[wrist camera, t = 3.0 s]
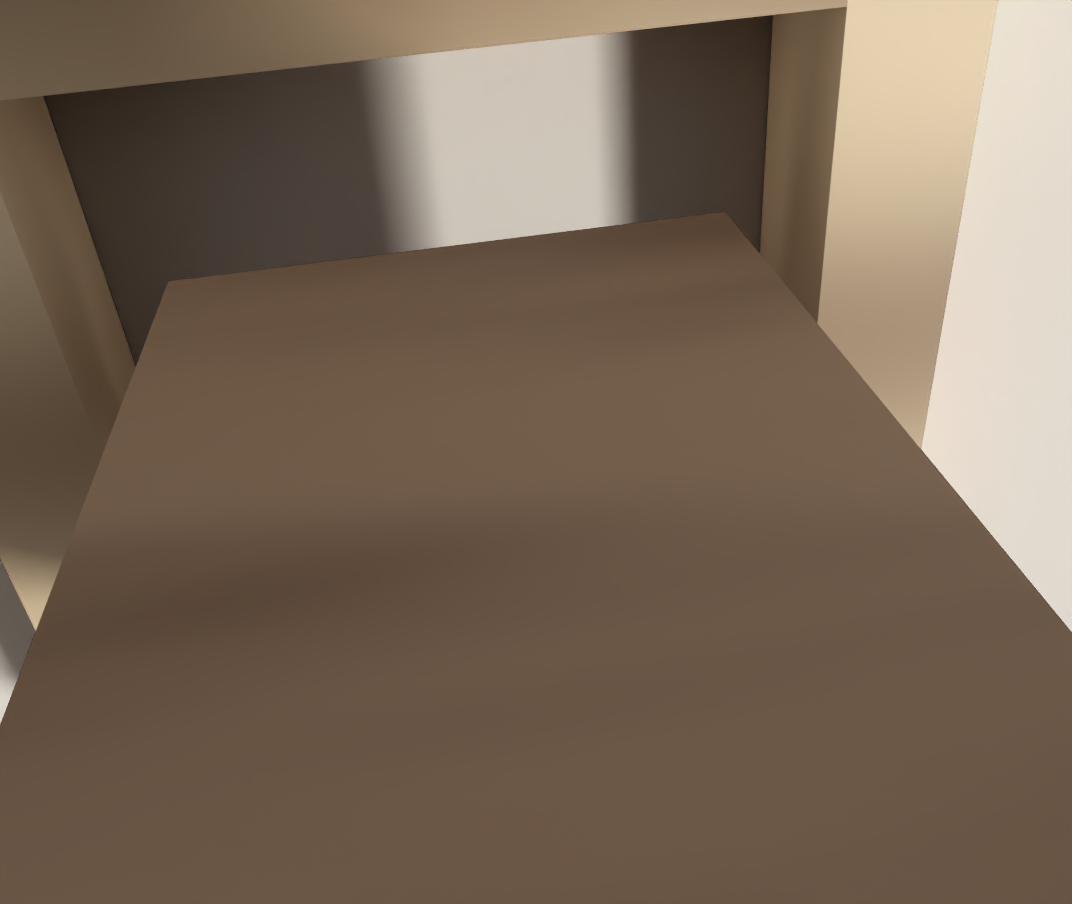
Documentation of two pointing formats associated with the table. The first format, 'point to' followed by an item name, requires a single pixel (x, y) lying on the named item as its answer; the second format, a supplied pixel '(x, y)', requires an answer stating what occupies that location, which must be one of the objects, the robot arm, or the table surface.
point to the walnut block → (529, 607)
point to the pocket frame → (462, 23)
